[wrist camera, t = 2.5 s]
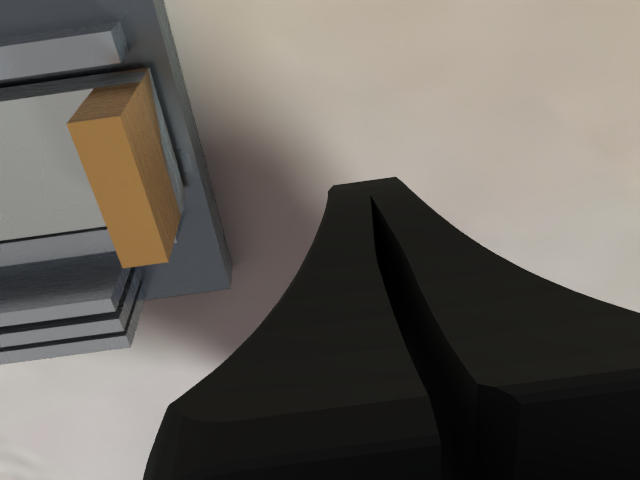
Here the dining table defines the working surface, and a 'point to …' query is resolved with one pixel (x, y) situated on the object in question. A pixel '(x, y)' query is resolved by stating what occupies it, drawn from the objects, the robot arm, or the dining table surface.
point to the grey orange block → (90, 163)
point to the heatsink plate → (95, 243)
